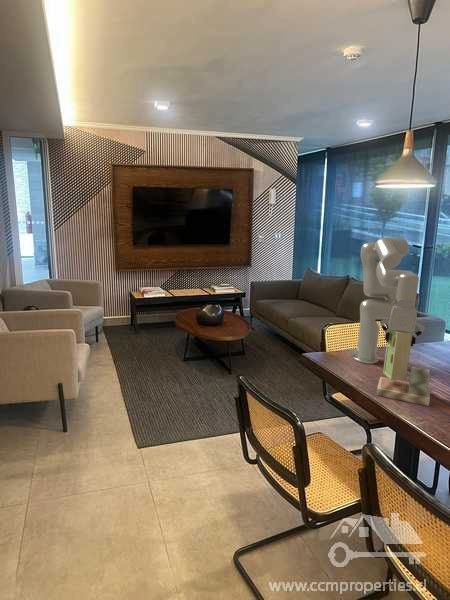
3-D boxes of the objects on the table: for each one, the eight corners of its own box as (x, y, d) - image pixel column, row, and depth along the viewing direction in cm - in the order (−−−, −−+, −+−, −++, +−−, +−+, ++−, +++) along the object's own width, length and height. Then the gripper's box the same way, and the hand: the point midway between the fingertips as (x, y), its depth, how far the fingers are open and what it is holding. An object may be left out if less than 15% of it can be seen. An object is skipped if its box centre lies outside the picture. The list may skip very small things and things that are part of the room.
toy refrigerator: (380, 372, 185) (387, 326, 180) (397, 372, 186) (404, 327, 181) (388, 380, 177) (396, 332, 172) (405, 380, 178) (413, 333, 173)
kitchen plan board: (376, 395, 178) (379, 370, 176) (379, 382, 191) (382, 359, 188) (428, 405, 171) (432, 380, 168) (428, 392, 183) (432, 368, 181)
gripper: (382, 302, 173) (376, 342, 177) (428, 308, 167) (422, 349, 171) (383, 299, 180) (378, 337, 184) (428, 304, 173) (422, 344, 177)
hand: (399, 343), depth 177 cm, fingers closed on toy refrigerator, 9 cm apart
